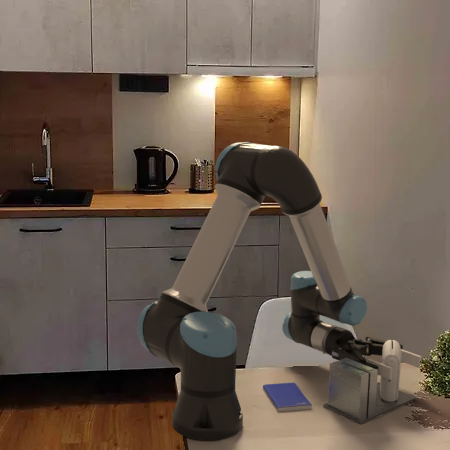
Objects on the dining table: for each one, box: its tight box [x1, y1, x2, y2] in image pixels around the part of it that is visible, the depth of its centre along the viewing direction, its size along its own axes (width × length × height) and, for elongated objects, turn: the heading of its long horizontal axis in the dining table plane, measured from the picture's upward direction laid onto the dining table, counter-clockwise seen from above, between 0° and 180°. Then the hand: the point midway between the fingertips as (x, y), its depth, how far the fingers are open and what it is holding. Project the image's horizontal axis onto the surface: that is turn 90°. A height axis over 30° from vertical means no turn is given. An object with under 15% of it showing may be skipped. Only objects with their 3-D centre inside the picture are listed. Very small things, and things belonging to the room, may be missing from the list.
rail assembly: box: [322, 358, 417, 425], centre depth 164 cm, size 20×11×11 cm, turn 130°
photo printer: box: [379, 339, 402, 402], centre depth 168 cm, size 10×4×12 cm, turn 168°
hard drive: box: [262, 382, 313, 412], centre depth 167 cm, size 2×8×12 cm
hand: (406, 367), depth 165 cm, fingers open, 10 cm apart
